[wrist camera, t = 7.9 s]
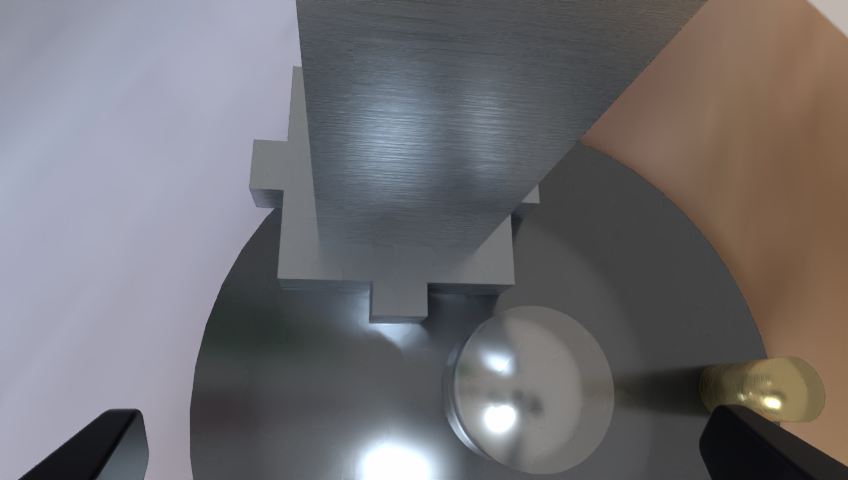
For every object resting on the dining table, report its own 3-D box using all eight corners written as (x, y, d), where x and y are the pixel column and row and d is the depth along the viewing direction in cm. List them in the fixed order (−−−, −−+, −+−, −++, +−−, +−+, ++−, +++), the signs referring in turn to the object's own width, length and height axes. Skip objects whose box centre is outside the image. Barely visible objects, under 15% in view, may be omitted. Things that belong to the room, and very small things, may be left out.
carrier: (722, 832, 15) (853, 977, 11) (71, 622, 14) (-27, 703, 10) (781, 236, 21) (878, 200, 17) (336, 63, 20) (336, -15, 16)
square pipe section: (530, 325, 17) (1000, 135, 5) (246, 321, 16) (-45, 48, 4) (513, 88, 20) (796, -410, 8) (269, 66, 19) (144, -581, 6)
